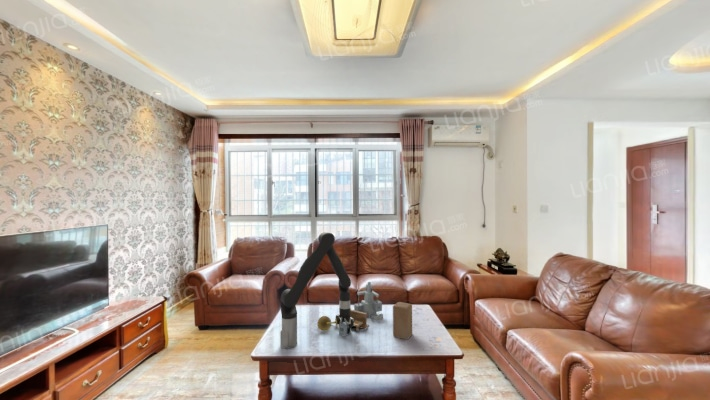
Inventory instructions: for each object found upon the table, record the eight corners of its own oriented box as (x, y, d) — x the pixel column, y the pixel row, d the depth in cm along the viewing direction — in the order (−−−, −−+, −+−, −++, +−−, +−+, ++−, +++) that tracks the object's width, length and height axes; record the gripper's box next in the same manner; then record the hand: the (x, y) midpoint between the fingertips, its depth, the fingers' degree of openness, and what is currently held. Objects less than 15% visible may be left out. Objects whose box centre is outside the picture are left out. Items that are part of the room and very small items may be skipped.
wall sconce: (335, 315, 208) (339, 313, 185) (336, 329, 204) (341, 329, 182) (316, 317, 205) (318, 316, 183) (316, 331, 201) (319, 332, 179)
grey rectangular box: (344, 336, 185) (344, 327, 185) (338, 334, 188) (338, 325, 188) (351, 332, 192) (351, 323, 192) (344, 330, 194) (344, 321, 194)
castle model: (352, 314, 222) (352, 282, 222) (372, 311, 229) (371, 279, 230) (362, 323, 206) (362, 288, 206) (383, 318, 213) (382, 285, 214)
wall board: (360, 332, 191) (360, 317, 192) (336, 325, 202) (336, 311, 202) (368, 326, 201) (368, 311, 201) (345, 320, 212) (345, 306, 212)
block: (407, 340, 179) (407, 308, 179) (392, 336, 184) (392, 305, 185) (412, 334, 188) (412, 303, 188) (398, 330, 193) (398, 301, 193)
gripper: (332, 306, 191) (333, 331, 191) (350, 310, 183) (350, 337, 183) (339, 303, 197) (339, 327, 197) (357, 306, 190) (357, 332, 189)
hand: (345, 332), depth 190 cm, fingers closed on grey rectangular box, 5 cm apart
